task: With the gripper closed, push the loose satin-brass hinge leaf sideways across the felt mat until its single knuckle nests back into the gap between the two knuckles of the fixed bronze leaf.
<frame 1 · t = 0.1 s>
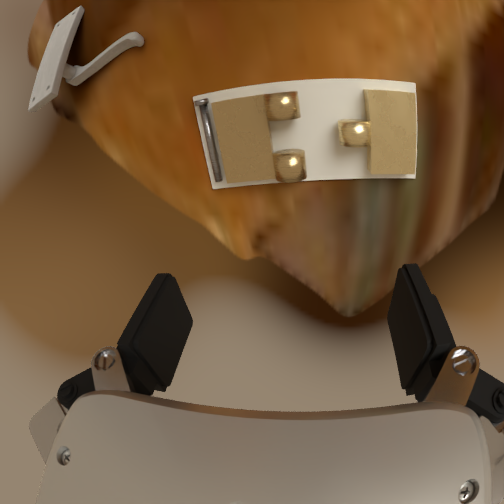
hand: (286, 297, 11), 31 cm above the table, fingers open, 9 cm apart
frame leaf: (255, 136, 36), resting on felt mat
hinge pin: (212, 142, 38), resting on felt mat
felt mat: (312, 130, 35), on the table
door leaf: (380, 129, 33), resting on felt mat
door handle: (98, 38, 29), on the table
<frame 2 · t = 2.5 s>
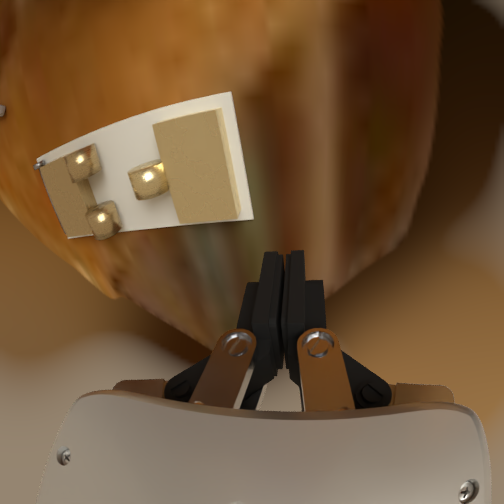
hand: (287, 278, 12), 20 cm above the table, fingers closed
frame leaf: (81, 190, 33), resting on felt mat
hinge pin: (56, 198, 34), resting on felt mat
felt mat: (123, 179, 32), on the table
door leaf: (191, 166, 29), resting on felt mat
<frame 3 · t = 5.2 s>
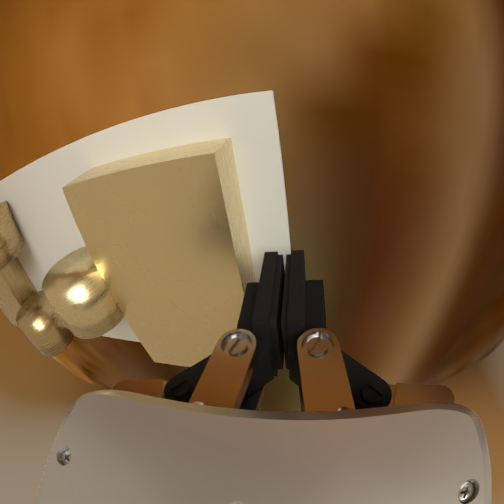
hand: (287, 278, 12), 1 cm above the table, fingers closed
frame leaf: (12, 266, 17), resting on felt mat
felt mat: (60, 263, 16), on the table
door leaf: (163, 265, 14), resting on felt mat, touching gripper
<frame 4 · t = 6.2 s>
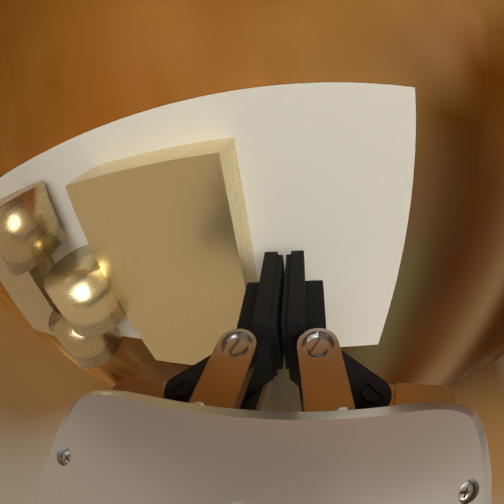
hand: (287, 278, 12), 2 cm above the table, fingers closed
frame leaf: (40, 262, 16), resting on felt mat
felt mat: (112, 257, 15), on the table
door leaf: (166, 264, 14), resting on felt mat, touching gripper
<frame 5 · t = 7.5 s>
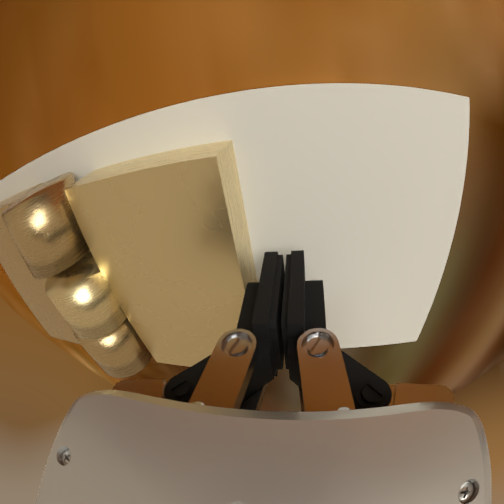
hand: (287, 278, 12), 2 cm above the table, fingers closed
frame leaf: (60, 264, 16), resting on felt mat
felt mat: (149, 258, 15), on the table
door leaf: (166, 266, 14), resting on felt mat, touching gripper
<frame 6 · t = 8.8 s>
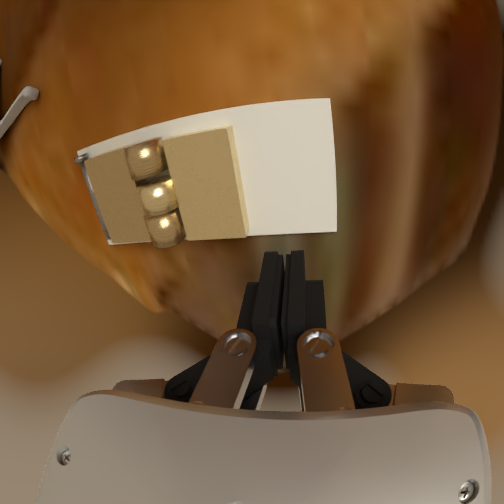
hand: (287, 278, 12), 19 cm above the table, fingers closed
frame leaf: (134, 191, 32), resting on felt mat
hinge pin: (99, 198, 33), resting on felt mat
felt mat: (191, 180, 30), on the table
door leaf: (200, 183, 30), resting on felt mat
door handle: (12, 90, 25), on the table
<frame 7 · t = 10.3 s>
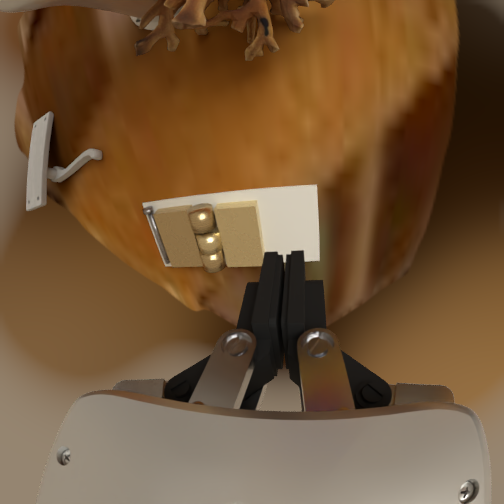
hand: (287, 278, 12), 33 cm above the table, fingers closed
frame leaf: (189, 233, 51), resting on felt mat
hinge pin: (160, 236, 53), resting on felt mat
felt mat: (229, 229, 50), on the table
door leaf: (235, 232, 50), resting on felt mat
door handle: (69, 143, 44), on the table
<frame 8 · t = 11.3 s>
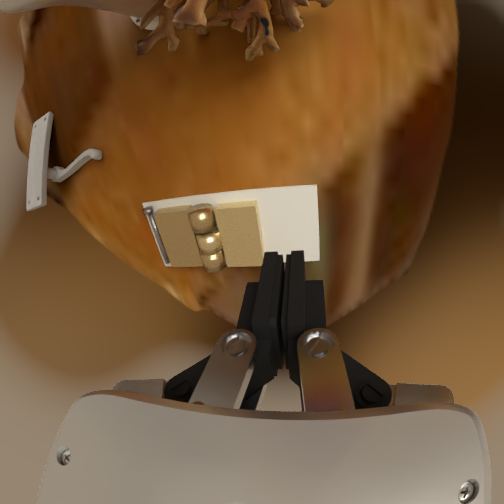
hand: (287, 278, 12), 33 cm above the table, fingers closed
frame leaf: (189, 233, 51), resting on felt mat
hinge pin: (160, 236, 53), resting on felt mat
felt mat: (229, 229, 50), on the table
door leaf: (235, 232, 50), resting on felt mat
door handle: (69, 142, 44), on the table
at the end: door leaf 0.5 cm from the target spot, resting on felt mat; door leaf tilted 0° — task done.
